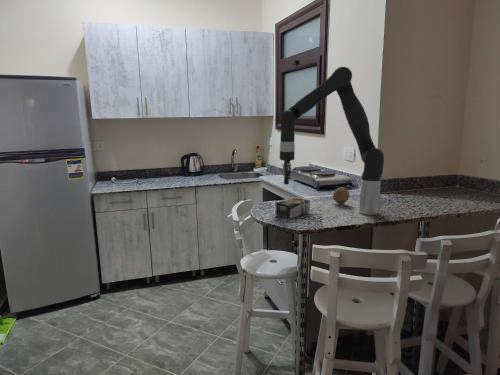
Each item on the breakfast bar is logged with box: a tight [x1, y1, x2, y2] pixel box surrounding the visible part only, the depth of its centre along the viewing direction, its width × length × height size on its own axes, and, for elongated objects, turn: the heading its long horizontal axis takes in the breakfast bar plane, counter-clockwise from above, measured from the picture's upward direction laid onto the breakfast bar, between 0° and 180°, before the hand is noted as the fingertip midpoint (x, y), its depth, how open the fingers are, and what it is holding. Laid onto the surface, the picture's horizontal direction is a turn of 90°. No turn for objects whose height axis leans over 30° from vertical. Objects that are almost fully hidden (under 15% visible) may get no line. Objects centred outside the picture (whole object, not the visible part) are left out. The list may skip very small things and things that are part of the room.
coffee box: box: [275, 196, 311, 220], centre depth 179 cm, size 9×6×16 cm
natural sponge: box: [332, 186, 350, 205], centre depth 199 cm, size 9×9×10 cm
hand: (286, 184), depth 184 cm, fingers closed
